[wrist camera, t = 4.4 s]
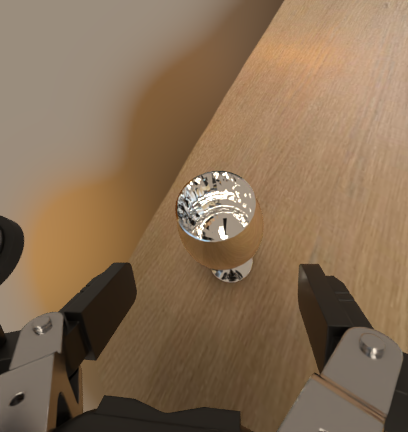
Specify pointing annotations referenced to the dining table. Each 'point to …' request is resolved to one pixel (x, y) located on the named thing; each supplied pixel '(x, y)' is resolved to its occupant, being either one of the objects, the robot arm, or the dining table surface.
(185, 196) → the wineglass
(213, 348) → the dining table surface
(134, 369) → the dining table surface
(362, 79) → the dining table surface
